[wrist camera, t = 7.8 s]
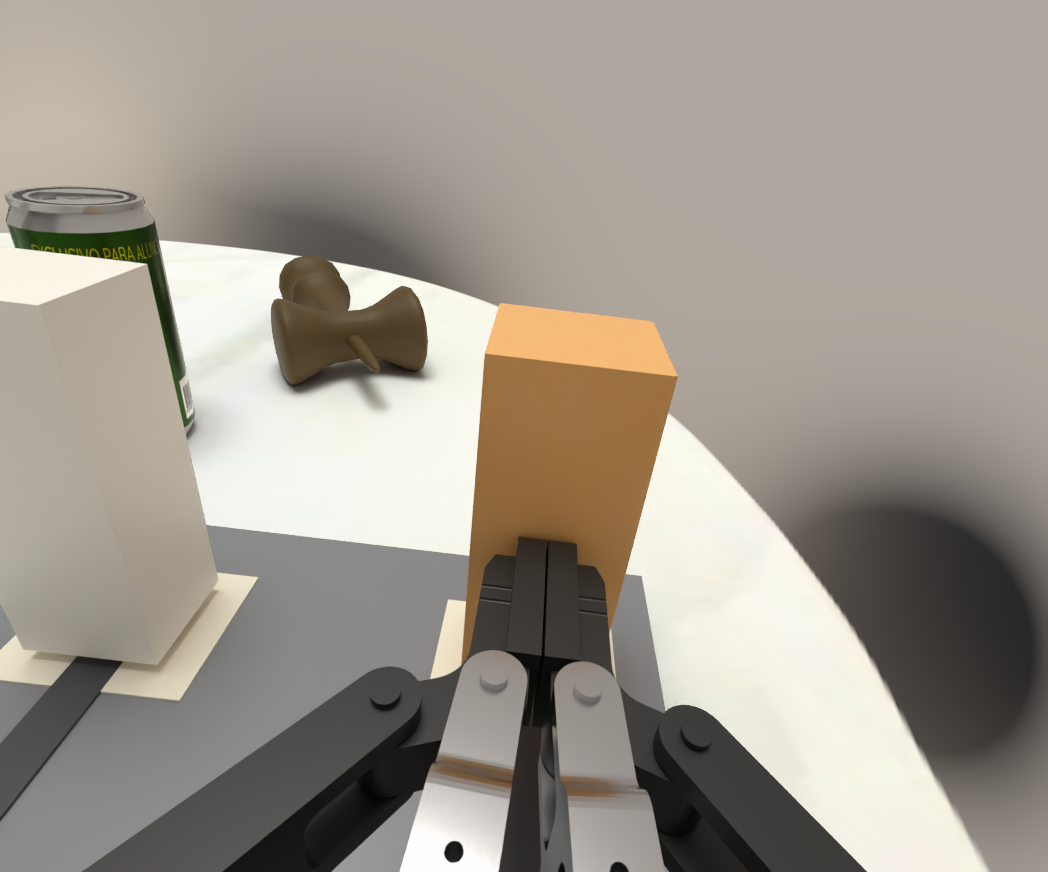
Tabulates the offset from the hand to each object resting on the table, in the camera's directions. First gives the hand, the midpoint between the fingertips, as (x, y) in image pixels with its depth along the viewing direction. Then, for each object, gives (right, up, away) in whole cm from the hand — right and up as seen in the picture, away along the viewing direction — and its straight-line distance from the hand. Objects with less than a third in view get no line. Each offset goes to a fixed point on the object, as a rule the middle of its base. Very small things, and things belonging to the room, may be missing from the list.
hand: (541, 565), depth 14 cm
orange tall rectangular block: (0, -4, +4) cm, 6 cm away
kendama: (-14, +9, +29) cm, 33 cm away
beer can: (-21, +3, +16) cm, 27 cm away
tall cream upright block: (-13, -2, +4) cm, 14 cm away
